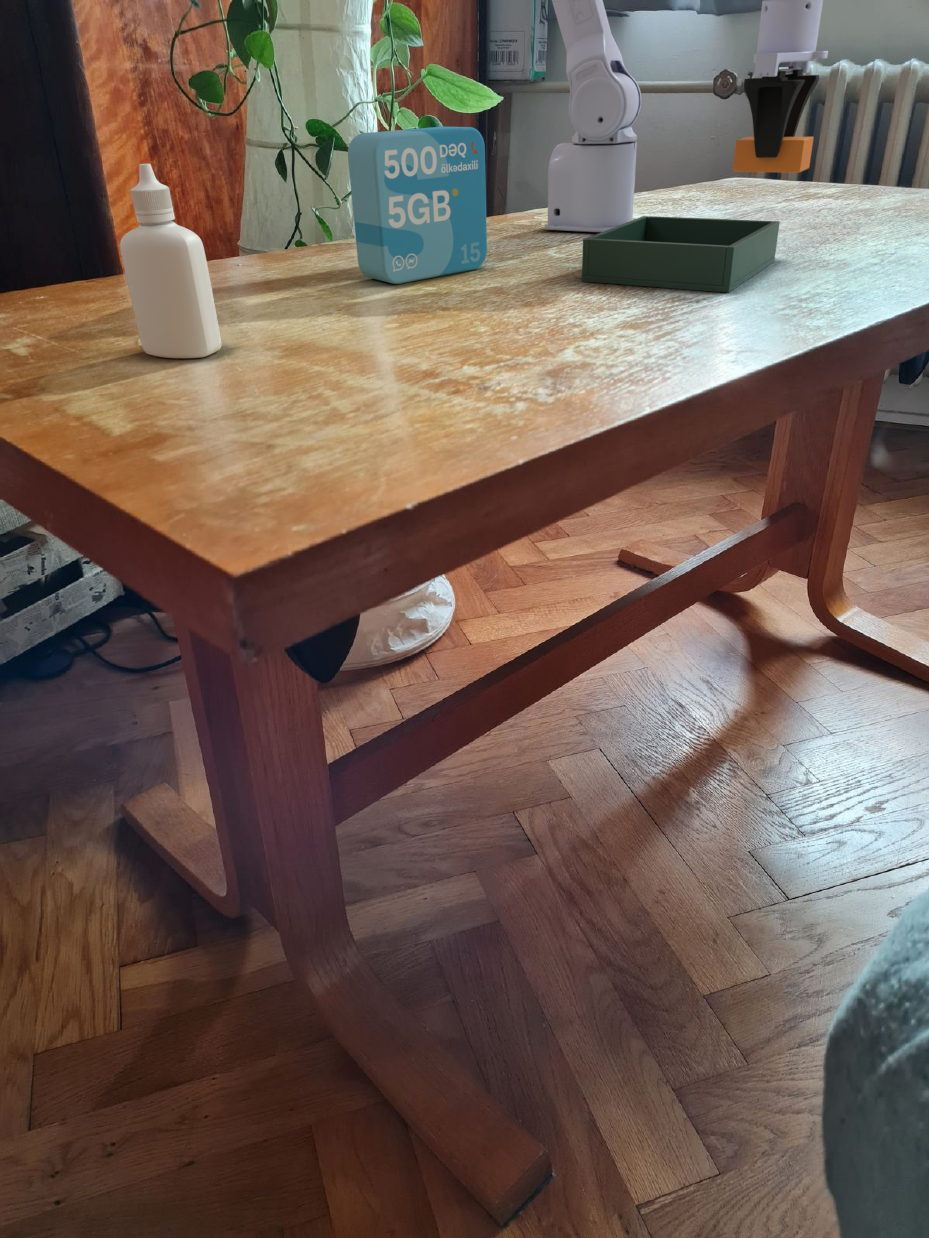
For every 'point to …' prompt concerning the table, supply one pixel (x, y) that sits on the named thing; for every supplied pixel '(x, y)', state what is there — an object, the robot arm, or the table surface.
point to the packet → (789, 158)
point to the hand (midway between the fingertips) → (772, 155)
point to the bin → (680, 253)
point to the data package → (418, 202)
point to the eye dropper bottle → (168, 277)
